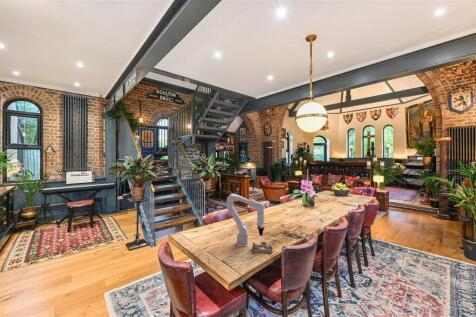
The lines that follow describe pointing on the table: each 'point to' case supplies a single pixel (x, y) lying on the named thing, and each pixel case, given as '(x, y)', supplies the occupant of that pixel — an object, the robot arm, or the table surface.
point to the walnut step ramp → (255, 246)
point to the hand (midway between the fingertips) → (260, 233)
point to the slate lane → (263, 249)
